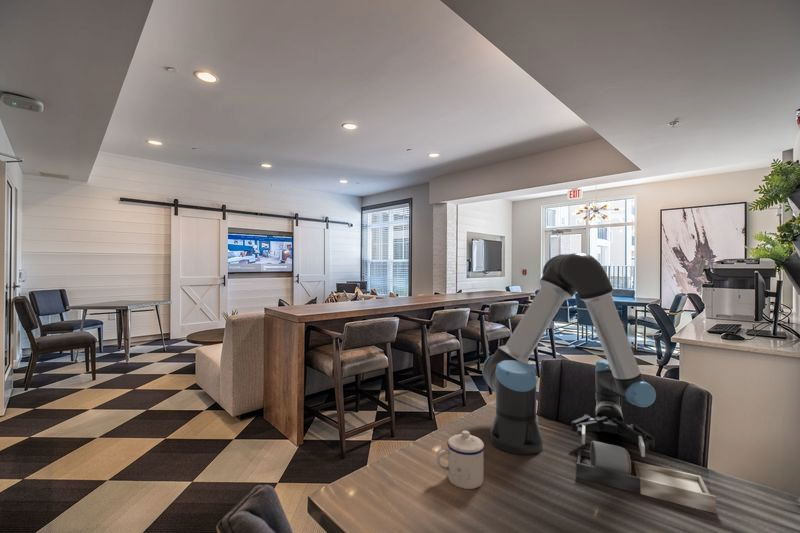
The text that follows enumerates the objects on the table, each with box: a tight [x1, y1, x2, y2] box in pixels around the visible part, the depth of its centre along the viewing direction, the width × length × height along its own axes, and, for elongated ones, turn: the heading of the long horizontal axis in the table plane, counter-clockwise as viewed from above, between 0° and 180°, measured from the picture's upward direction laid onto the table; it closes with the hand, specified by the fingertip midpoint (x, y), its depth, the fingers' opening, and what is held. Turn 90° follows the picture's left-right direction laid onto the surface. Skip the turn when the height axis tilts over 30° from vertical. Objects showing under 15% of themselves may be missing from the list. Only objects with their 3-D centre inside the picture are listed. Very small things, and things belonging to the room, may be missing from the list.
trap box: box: [575, 448, 717, 514], centre depth 87 cm, size 27×13×4 cm, turn 60°
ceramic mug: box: [589, 440, 632, 475], centre depth 91 cm, size 11×8×8 cm
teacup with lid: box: [435, 430, 485, 490], centre depth 87 cm, size 12×9×12 cm
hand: (612, 445), depth 93 cm, fingers open, 13 cm apart
